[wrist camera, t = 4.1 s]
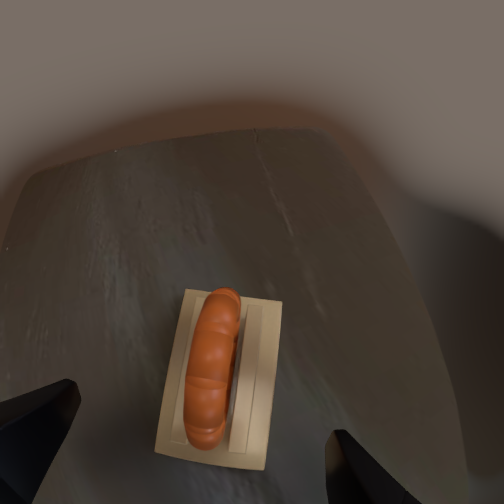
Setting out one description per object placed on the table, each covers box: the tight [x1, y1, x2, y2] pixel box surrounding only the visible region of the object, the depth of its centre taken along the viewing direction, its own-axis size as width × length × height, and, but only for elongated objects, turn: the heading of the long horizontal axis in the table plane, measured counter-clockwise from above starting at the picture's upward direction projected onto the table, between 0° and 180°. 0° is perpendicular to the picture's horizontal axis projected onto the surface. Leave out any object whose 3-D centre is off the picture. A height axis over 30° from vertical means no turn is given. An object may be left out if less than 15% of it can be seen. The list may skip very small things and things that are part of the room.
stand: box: [154, 289, 282, 470], centre depth 16 cm, size 12×7×4 cm, turn 173°
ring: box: [183, 287, 241, 451], centre depth 13 cm, size 8×2×8 cm, turn 173°
